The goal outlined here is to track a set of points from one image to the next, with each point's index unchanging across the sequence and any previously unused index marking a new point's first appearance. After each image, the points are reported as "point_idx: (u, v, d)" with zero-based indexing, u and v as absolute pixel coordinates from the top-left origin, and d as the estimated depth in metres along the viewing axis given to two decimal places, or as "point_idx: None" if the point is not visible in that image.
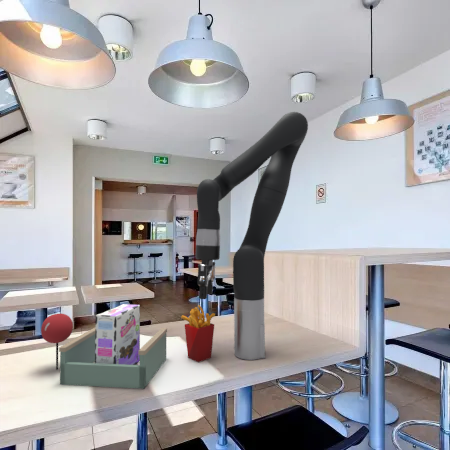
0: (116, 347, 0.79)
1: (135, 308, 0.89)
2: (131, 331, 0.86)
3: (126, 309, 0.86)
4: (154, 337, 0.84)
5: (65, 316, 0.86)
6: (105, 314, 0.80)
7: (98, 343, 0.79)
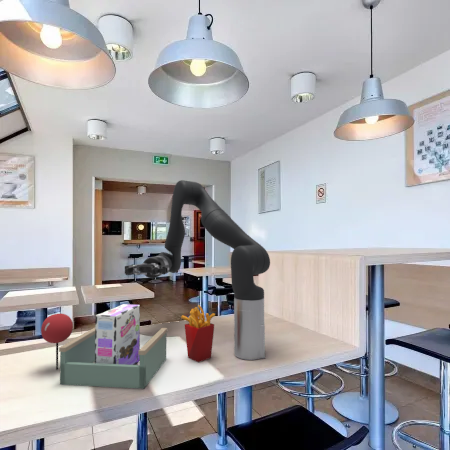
0: (116, 347, 0.79)
1: (135, 308, 0.89)
2: (131, 331, 0.86)
3: (126, 309, 0.86)
4: (154, 337, 0.84)
5: (65, 316, 0.86)
6: (105, 314, 0.80)
7: (98, 343, 0.79)
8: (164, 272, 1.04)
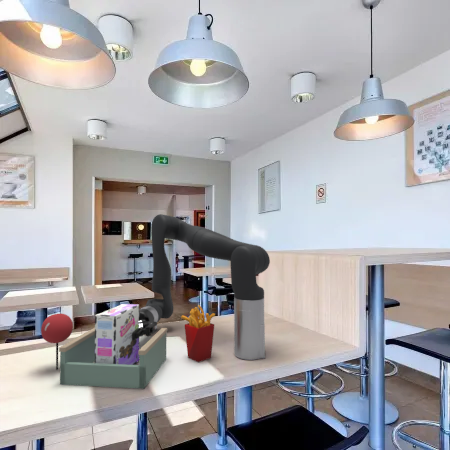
0: (116, 347, 0.79)
1: (134, 308, 0.89)
2: (130, 331, 0.86)
3: (125, 309, 0.86)
4: (154, 337, 0.84)
5: (65, 316, 0.86)
6: (104, 314, 0.80)
7: (98, 343, 0.79)
8: (147, 333, 0.91)
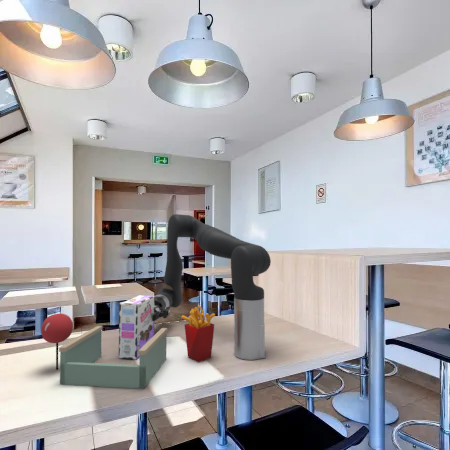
0: (137, 330, 0.93)
1: (151, 298, 1.03)
2: (148, 318, 1.00)
3: (144, 299, 0.99)
4: (154, 337, 0.84)
5: (65, 316, 0.86)
6: (127, 302, 0.94)
7: (122, 327, 0.93)
8: (165, 316, 1.05)
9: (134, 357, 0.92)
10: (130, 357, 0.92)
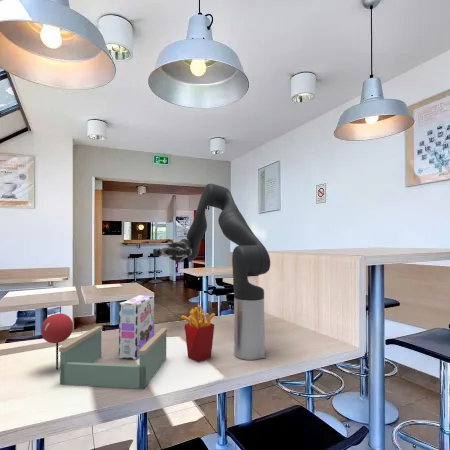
0: (137, 330, 0.93)
1: (151, 298, 1.03)
2: (148, 318, 1.00)
3: (144, 299, 0.99)
4: (154, 337, 0.84)
5: (65, 316, 0.86)
6: (127, 302, 0.94)
7: (122, 327, 0.93)
8: (188, 254, 1.18)
9: (134, 357, 0.92)
10: (130, 357, 0.92)
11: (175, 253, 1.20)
